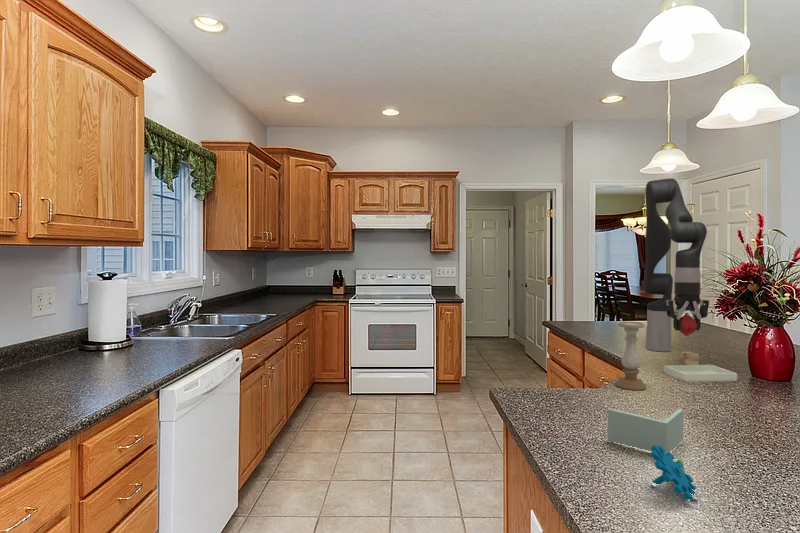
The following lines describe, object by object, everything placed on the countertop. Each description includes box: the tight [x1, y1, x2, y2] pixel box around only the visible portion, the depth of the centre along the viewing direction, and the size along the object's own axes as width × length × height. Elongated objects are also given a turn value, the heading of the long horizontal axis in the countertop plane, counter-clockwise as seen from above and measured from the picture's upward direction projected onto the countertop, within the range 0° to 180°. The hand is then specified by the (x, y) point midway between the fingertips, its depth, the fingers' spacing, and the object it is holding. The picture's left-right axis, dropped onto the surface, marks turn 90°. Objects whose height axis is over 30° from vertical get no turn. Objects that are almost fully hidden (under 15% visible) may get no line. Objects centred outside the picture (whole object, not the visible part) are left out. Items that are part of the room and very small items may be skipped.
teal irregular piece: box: [649, 445, 697, 500], centre depth 83 cm, size 11×6×10 cm
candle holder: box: [615, 321, 647, 391], centre depth 145 cm, size 9×9×20 cm
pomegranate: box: [679, 312, 697, 337], centre depth 156 cm, size 6×6×8 cm
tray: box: [663, 364, 738, 383], centre depth 156 cm, size 12×18×2 cm, turn 91°
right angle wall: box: [607, 407, 685, 454], centre depth 104 cm, size 12×12×8 cm
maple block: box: [680, 351, 700, 365], centre depth 170 cm, size 4×4×5 cm
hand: (686, 330), depth 156 cm, fingers closed on pomegranate, 5 cm apart
